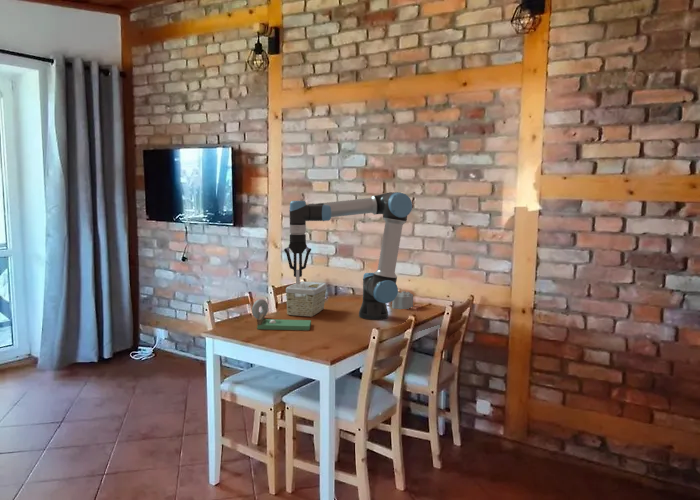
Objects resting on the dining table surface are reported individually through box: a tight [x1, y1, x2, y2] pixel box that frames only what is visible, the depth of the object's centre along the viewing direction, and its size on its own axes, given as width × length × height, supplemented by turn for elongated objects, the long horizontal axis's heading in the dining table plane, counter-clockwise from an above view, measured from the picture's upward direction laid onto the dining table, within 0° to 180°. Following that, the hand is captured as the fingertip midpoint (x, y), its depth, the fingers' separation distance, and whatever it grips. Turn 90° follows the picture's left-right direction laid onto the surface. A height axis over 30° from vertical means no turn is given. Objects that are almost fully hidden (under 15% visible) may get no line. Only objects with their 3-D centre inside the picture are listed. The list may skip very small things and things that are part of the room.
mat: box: [256, 318, 312, 331], centre depth 272 cm, size 24×12×2 cm, turn 90°
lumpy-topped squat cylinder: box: [391, 290, 414, 310], centre depth 323 cm, size 10×13×9 cm
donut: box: [251, 298, 269, 320], centre depth 286 cm, size 10×4×10 cm, turn 144°
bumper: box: [256, 314, 266, 326], centre depth 271 cm, size 2×12×2 cm, turn 0°
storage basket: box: [285, 281, 327, 317], centre depth 304 cm, size 24×16×15 cm
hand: (297, 283), depth 271 cm, fingers closed
